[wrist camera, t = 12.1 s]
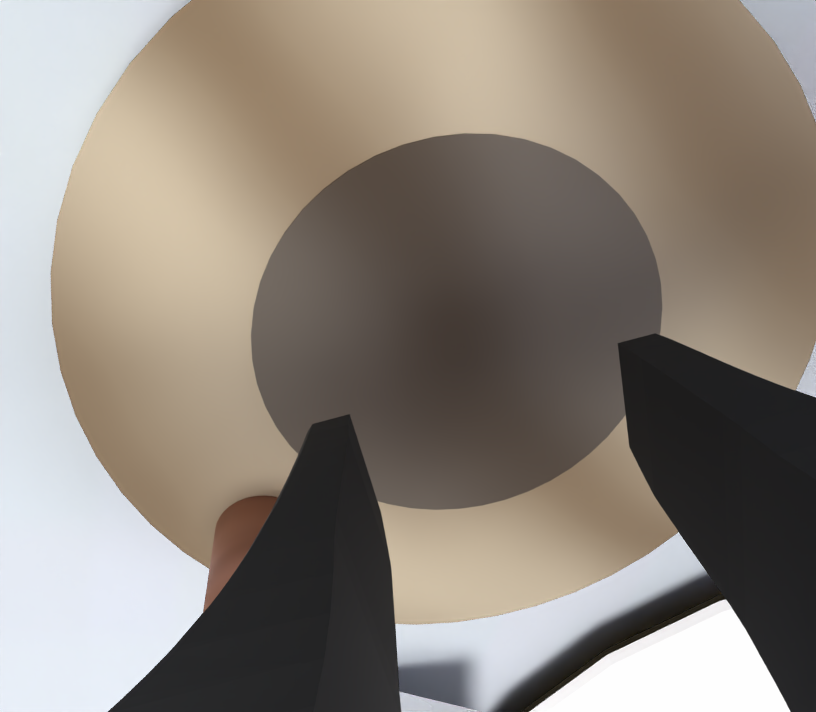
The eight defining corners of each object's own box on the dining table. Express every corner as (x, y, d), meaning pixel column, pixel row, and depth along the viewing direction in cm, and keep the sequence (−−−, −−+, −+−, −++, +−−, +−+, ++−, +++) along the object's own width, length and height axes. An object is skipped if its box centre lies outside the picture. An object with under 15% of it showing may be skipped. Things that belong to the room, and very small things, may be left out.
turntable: (460, -361, 11) (532, -494, 8) (936, 291, 17) (1092, 377, 14) (-98, 362, 15) (-214, 485, 11) (449, 683, 21) (478, 824, 17)
